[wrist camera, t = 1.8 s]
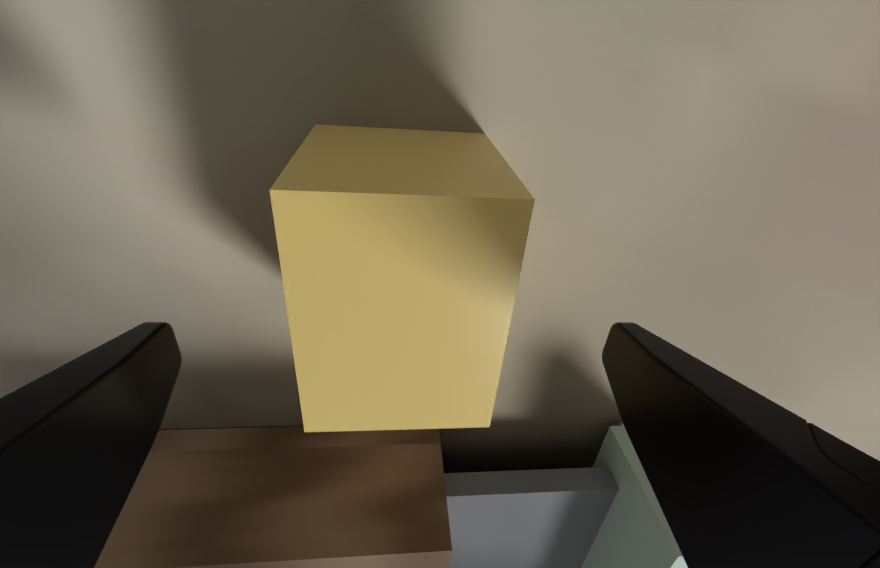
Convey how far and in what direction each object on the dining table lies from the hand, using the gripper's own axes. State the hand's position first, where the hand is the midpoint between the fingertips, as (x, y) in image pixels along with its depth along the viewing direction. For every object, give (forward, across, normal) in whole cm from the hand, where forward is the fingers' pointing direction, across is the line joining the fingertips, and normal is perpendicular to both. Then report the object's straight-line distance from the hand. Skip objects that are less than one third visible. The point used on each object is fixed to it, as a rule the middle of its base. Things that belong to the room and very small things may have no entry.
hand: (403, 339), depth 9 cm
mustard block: (+5, 0, 0) cm, 5 cm away
